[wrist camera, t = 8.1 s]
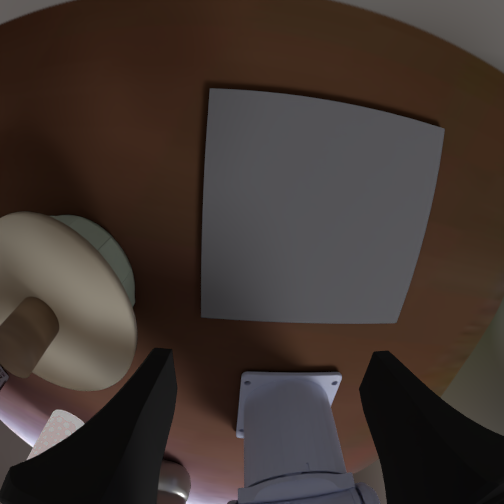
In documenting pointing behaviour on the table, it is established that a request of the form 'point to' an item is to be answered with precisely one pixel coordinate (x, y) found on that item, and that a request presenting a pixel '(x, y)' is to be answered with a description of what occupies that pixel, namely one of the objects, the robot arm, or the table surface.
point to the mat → (312, 208)
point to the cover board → (61, 306)
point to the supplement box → (3, 377)
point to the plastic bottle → (173, 484)
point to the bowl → (104, 249)
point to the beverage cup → (56, 431)
